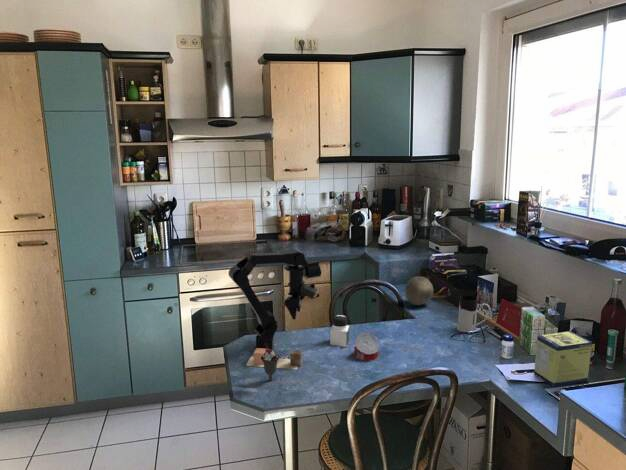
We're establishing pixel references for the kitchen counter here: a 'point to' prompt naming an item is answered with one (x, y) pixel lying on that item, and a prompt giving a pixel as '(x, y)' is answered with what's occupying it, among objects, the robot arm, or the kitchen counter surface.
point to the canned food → (366, 347)
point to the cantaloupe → (419, 290)
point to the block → (258, 355)
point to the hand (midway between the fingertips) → (296, 315)
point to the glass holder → (468, 313)
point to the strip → (283, 361)
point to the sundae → (270, 362)
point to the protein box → (562, 358)
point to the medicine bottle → (339, 331)
